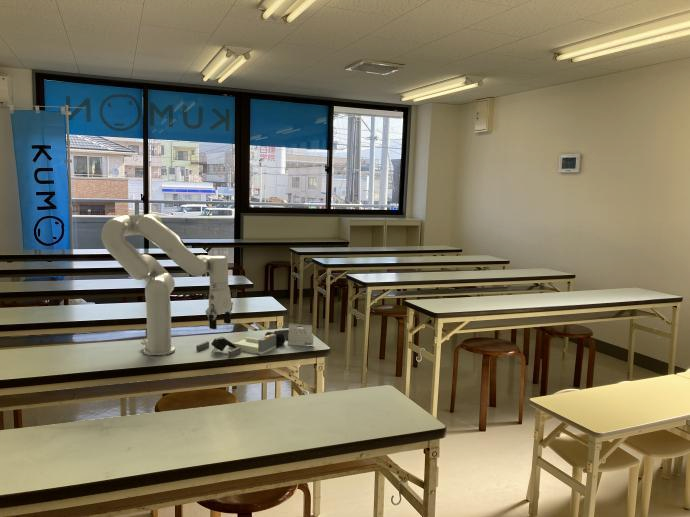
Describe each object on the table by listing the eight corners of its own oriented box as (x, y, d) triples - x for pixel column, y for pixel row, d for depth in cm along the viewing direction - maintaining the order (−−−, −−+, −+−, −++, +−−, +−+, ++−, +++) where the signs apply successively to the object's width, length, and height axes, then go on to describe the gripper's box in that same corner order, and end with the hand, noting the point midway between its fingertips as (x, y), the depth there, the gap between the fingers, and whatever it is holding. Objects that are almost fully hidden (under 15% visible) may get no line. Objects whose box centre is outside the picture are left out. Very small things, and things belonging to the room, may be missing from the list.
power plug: (242, 350, 243) (219, 336, 238) (232, 365, 242) (208, 351, 237) (239, 346, 248) (216, 332, 243) (229, 361, 247) (206, 347, 242)
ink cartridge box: (289, 343, 258) (289, 322, 257) (313, 345, 256) (314, 324, 255) (287, 345, 255) (288, 323, 254) (312, 347, 253) (312, 325, 252)
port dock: (228, 348, 248) (228, 333, 247) (243, 341, 258) (243, 327, 257) (262, 354, 241) (262, 339, 240) (276, 347, 251) (276, 333, 250)
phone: (288, 329, 278) (302, 336, 266) (288, 331, 278) (302, 338, 266) (273, 331, 274) (286, 338, 261) (273, 333, 274) (286, 340, 262)
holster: (196, 350, 243) (196, 345, 242) (206, 346, 249) (206, 341, 249) (230, 357, 236) (230, 351, 235) (240, 353, 242) (240, 347, 241)
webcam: (285, 345, 256) (286, 332, 255) (277, 348, 251) (277, 335, 250) (269, 341, 260) (270, 329, 260) (261, 344, 255) (261, 332, 255)
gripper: (213, 290, 229) (214, 332, 231) (238, 282, 244) (239, 322, 247) (198, 288, 232) (199, 330, 234) (224, 281, 247) (225, 320, 250)
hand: (220, 326), depth 241 cm, fingers open, 9 cm apart
